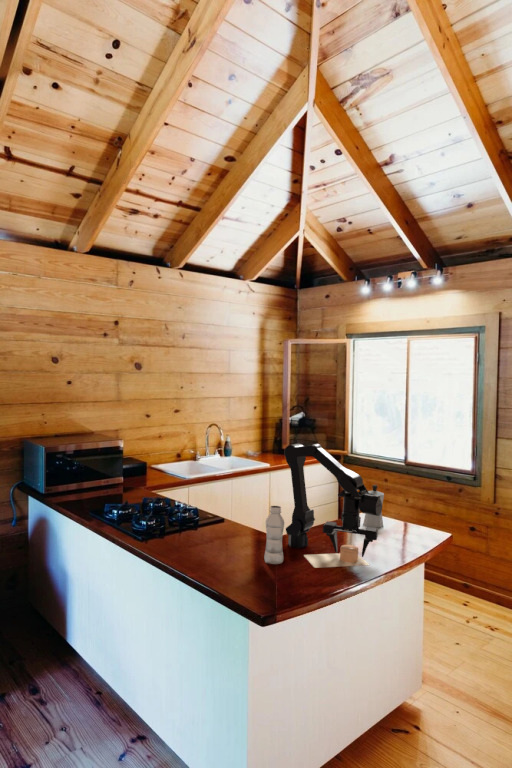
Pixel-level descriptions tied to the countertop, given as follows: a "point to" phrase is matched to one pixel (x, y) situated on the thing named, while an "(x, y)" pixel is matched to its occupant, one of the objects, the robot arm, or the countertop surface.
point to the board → (331, 560)
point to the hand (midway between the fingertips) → (349, 554)
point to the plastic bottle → (274, 536)
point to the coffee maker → (372, 519)
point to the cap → (349, 553)
